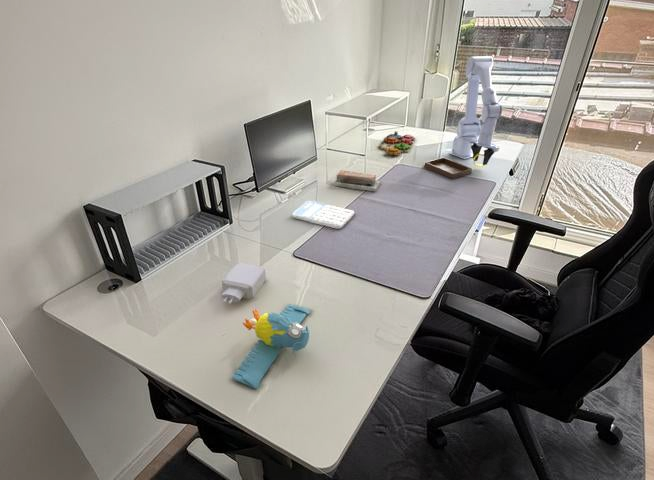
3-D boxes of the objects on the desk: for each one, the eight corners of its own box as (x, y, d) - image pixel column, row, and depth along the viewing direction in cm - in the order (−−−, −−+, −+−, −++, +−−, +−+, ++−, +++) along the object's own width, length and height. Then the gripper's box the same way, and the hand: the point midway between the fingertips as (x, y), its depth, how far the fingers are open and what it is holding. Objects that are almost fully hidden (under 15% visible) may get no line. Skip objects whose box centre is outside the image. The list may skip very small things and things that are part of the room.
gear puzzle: (405, 158, 204) (406, 150, 202) (373, 154, 209) (373, 146, 207) (415, 139, 228) (417, 132, 226) (386, 136, 233) (387, 129, 230)
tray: (424, 166, 196) (425, 162, 195) (442, 161, 201) (443, 157, 200) (452, 179, 184) (453, 174, 183) (471, 173, 190) (472, 168, 188)
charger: (212, 306, 113) (237, 275, 125) (243, 313, 111) (266, 281, 123) (209, 292, 110) (236, 262, 122) (241, 299, 108) (265, 267, 120)
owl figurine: (276, 276, 109) (329, 291, 105) (277, 301, 115) (328, 317, 110) (213, 347, 89) (276, 370, 84) (218, 374, 94) (277, 397, 89)
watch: (472, 166, 192) (475, 153, 189) (472, 164, 195) (474, 151, 191) (486, 167, 191) (489, 154, 188) (485, 165, 193) (488, 152, 190)
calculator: (339, 230, 147) (340, 225, 146) (291, 217, 155) (290, 213, 154) (355, 214, 157) (355, 210, 156) (308, 203, 164) (308, 199, 163)
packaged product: (334, 175, 175) (341, 167, 183) (333, 186, 178) (340, 177, 185) (376, 181, 170) (381, 172, 178) (375, 192, 173) (380, 183, 180)
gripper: (467, 130, 187) (461, 159, 195) (494, 138, 177) (487, 169, 185) (478, 127, 190) (471, 156, 198) (505, 136, 181) (497, 166, 188)
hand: (479, 162), depth 192 cm, fingers closed on watch, 5 cm apart
